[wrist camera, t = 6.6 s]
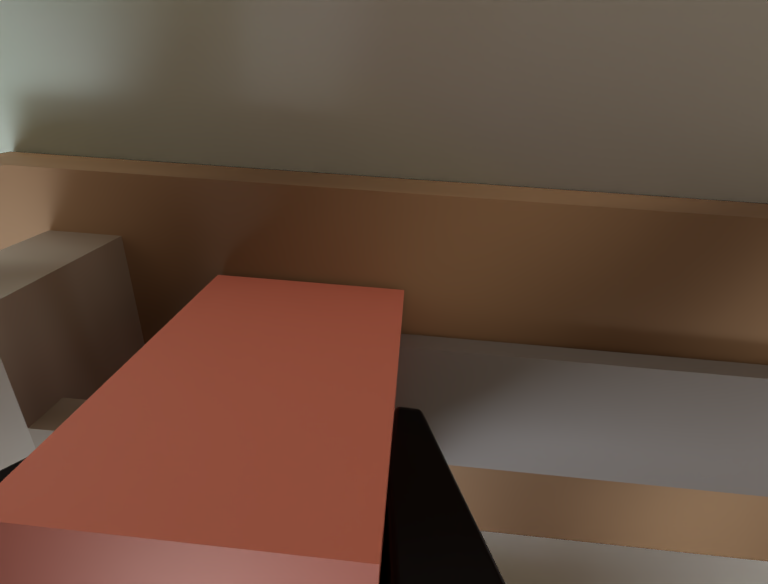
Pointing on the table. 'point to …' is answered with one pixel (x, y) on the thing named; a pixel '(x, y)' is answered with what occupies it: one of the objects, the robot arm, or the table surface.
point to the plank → (392, 271)
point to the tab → (341, 437)
